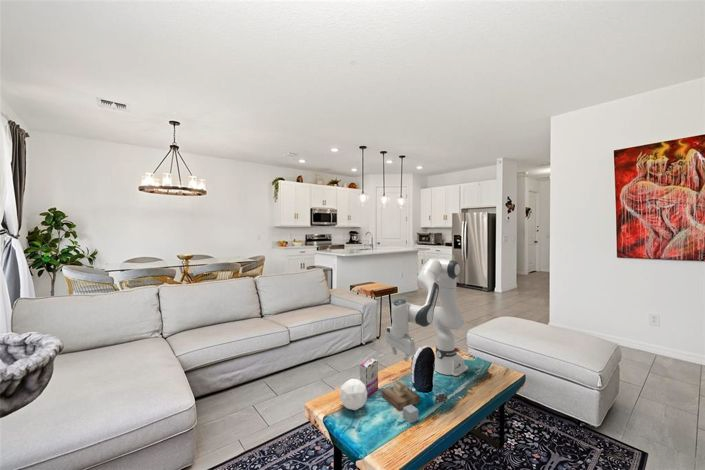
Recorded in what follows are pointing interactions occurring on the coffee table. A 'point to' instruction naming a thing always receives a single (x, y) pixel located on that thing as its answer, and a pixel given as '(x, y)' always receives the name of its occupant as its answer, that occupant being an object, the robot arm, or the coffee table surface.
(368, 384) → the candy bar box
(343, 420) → the coffee table surface
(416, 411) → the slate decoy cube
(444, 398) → the car cutout
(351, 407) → the geodesic sphere
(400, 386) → the maple cube
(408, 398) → the walnut base block
